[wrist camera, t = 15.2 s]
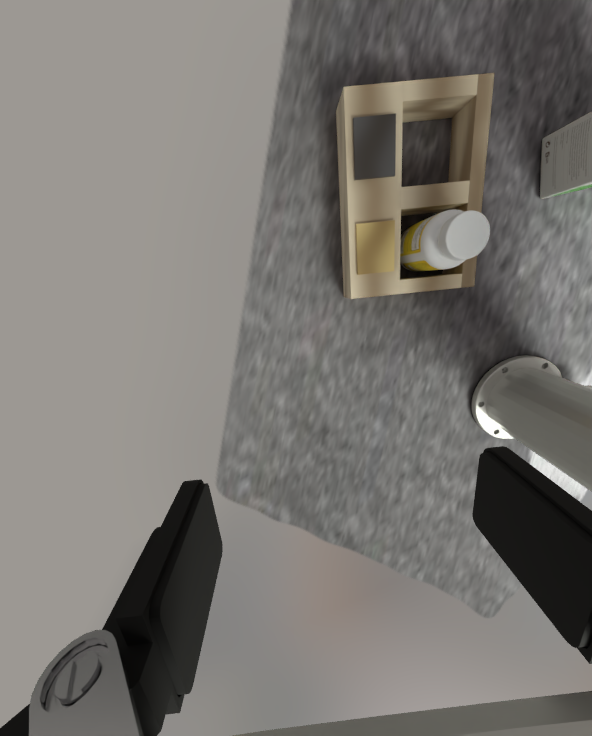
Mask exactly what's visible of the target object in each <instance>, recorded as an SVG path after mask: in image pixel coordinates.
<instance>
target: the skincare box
mask: <svg viewBox="0 0 592 736" xmlns="http://www.w3.org/2000/svg"><path fill="white" fill-rule="evenodd" d="M591 187H592V111H591V112H590V113H588V114H586V115H584V116H582V117H581V118H579V119H577V120H575V121H573V122H572V123H570V124H568V125H566V126H564V127H563V128H561V129H559V130H557V131H555V132H553V133H552V134H550V135H548V136H546V137H544V138H543V140H542V154H541V180H540V198H541V199H544V198H548V197H553V196H557V195H561V194H566V193H570V192H574V191H578V190H582V189H586V188H591Z"/></svg>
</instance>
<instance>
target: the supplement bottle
mask: <svg viewBox="0 0 592 736" xmlns="http://www.w3.org/2000/svg"><path fill="white" fill-rule="evenodd" d="M489 236H490V226H489V222H488V220H487V218H486V217H485V216H484V215H483V214H482V213H480V212H478V211H473V210H469V211H465V212H464V211H461V210H456V209H452V210H447V211H443V212H441V213H438V214H436V215H434V216H432V217H429V218H427V219H425V220H423V221H420V222H418V223H416V224H414V225H412V226H410V227H409V228H407V229H406V230H405V231H404V232H403V233H402V235H401V243H400V264H401V265H402V266H403V267H404V268H406V269H407V270H410V271H429V270H443V269H450V268H453V267H456V266H458V265H460V264H461V263H463V262H464V261H465V260H466V259H470V258H473V257H475V256H476V255H478V254H479V253H480V252H481V251H482V250H483V249H484V248H485V246H486V244H487V242H488V240H489Z"/></svg>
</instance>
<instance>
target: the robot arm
mask: <svg viewBox="0 0 592 736" xmlns="http://www.w3.org/2000/svg"><path fill="white" fill-rule="evenodd" d="M472 414H473V417H474V419H475V421H476V423H477V424H478V425H479V426H480V428H481V429H483V430H484V431H485V432H487V433H488V434H490V435H492V436H494V437H498V438H501V439H516V440H517V441H519V442H520V443H522V444H523V445H525V446H526V447H528V448H529V449H530V450H532V451H533V452H535V453H536V454H538V455H539V456H541V457H542V458H543V459H545V460H546V461H548V462H549V463H551V464H552V465H554V466H555V467H557V468H558V469H559V470H561V471H562V472H564V473H565V474H567V475H568V476H570V477H571V478H573V479H574V480H575V481H577V482H578V483H580V484H581V485H583V486H584V487H586V488H587V489H588V490H590V491H591V492H592V386H584V385H581V384H578V383H575V382H572V381H569V380H567V379H564V378H563V377H562V375H561V373H560V371H559V370H558V368H557V367H556V366H555V365H554V364H552V363H551V362H550V361H548V360H545V359H543V358H539V357H536V356H529V355H523V356H516V357H512V358H509V359H506V360H504V361H502V362H500V363H499V364H497V365H496V366H494V367H493V368H491V369H490V370H489V371H488V372H487V373H486V374H485V375H484V376H483V378H482V379H481V380H480V382H479V383H478V385H477V387H476V389H475V391H474V394H473V398H472ZM473 520H474V522H475V524H476V526H477V528H478V529H479V530H480V531H481V533H482V534H483V535H484V537H485V538H486V539H487V540H488V542H489V543H490V544H491V545H492V547H493V548H494V549H495V551H496V552H497V553H498V554H499V556H500V557H501V558H502V560H503V561H504V562H505V563H506V565H507V566H508V567H509V568H510V570H511V571H512V572H513V574H514V575H515V576H516V577H517V579H518V580H519V581H520V583H521V584H522V585H523V586H524V588H525V589H526V590H527V591H528V593H529V594H530V595H531V597H532V598H533V599H534V600H535V602H536V603H537V604H538V606H539V607H540V608H541V609H542V611H543V612H544V613H545V614H546V616H547V617H548V618H549V620H550V621H551V622H552V623H553V625H554V626H555V627H556V628H557V630H558V631H559V632H560V634H561V635H562V636H563V638H564V639H565V640H566V641H567V642H568V643H569V644H570V645H571V646H573V647H575V648H578V650H579V651H580V652H581V654H582V655H583V656H584V657H585V659H586V660H587V661H588V662H589V664H592V511H591V510H590V509H588V508H587V507H586V506H584V505H583V504H582V503H580V502H579V501H578V500H576V499H575V498H574V497H572V496H571V495H570V494H568V493H567V492H566V491H564V490H563V489H562V488H561V487H559V486H558V485H557V484H555V483H554V482H553V481H551V480H550V479H549V478H547V477H546V476H545V475H543V474H542V473H541V472H539V471H538V470H537V469H535V468H534V467H533V466H531V465H530V464H529V463H527V462H526V461H525V460H523V459H522V458H521V457H519V456H518V455H517V454H515V453H514V452H513V451H511V450H510V449H509V448H507V447H503V446H502V447H493V448H487V449H485V450H484V452H483V453H482V454H481V455H480V458H479V466H478V474H477V482H476V490H475V499H474V507H473ZM221 557H222V540H221V536H220V532H219V527H218V523H217V519H216V514H215V510H214V506H213V501H212V497H211V493H210V489H209V485H208V484H204V483H203V481H202V480H193V481H185V482H183V483H182V485H181V487H180V489H179V491H178V493H177V495H176V497H175V499H174V501H173V504H172V505H171V507H170V509H169V511H168V513H167V515H166V517H165V519H164V521H163V523H162V525H161V527H158V528H156V529H155V530H154V531H153V533H152V534H151V536H150V538H149V540H148V542H147V544H146V546H145V548H144V550H143V552H142V554H141V556H140V557H139V559H138V561H137V563H136V565H135V567H134V569H133V571H132V573H131V575H130V577H129V579H128V581H127V583H126V585H125V587H124V588H123V590H122V593H121V594H120V596H119V598H118V600H117V602H116V604H115V606H114V608H113V610H112V612H111V614H110V616H109V618H108V619H107V621H106V623H105V625H104V627H103V629H102V630H95V631H92V632H89V633H86V634H84V635H82V636H81V637H79V638H77V639H76V640H74V641H72V642H71V643H70V644H69V645H67V646H66V647H65V648H64V649H63V650H61V651H60V652H59V654H58V655H57V656H56V657H55V658H54V659H53V660H52V661H51V662H50V663H49V665H48V666H47V667H46V669H45V670H44V672H43V674H42V675H41V677H40V678H39V680H38V682H37V684H36V686H35V688H34V691H33V693H32V696H31V701H30V704H29V705H28V706H26V707H25V708H24V709H23V710H22V711H20V712H19V713H18V714H17V715H16V716H15V717H13V718H12V719H11V720H10V721H8V722H7V723H6V724H5V725H4V726H2V728H0V736H157V735H158V734H159V732H160V731H161V729H162V725H163V722H164V718H165V714H173V713H180V711H181V706H182V702H183V698H184V694H189V693H190V692H191V689H192V686H193V682H194V678H195V674H196V669H197V665H198V660H199V656H200V651H201V647H202V642H203V638H204V633H205V629H206V624H207V620H208V615H209V611H210V606H211V602H212V597H213V593H214V588H215V584H216V579H217V574H218V570H219V566H220V561H221ZM234 736H592V691H588V692H579V693H571V694H562V695H553V696H545V697H536V698H527V699H518V700H509V701H501V702H493V703H484V704H476V705H468V706H459V707H451V708H443V709H434V710H426V711H417V712H410V713H401V714H393V715H385V716H377V717H369V718H361V719H353V720H346V721H337V722H330V723H321V724H314V725H306V726H299V727H290V728H282V729H274V730H267V731H260V732H253V733H247V734H240V735H234Z"/></svg>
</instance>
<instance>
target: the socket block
mask: <svg viewBox="0 0 592 736" xmlns="http://www.w3.org/2000/svg"><path fill="white" fill-rule="evenodd" d="M493 82H494V73H486V74H476V75H465V76H454V77H443V78H433V79H422V80H411V81H400V82H390V83H379V84H368V85H358V86H347V87H343V91H342V94H341V97H340V100H339V103H338V107H337V110H336V126H337V149H338V172H339V196H340V219H341V242H342V266H343V289H344V297H346V298H350V299H355V298H365V297H375V296H385V295H394V294H404V293H414V292H424V291H434V290H443V289H453V288H463V287H473V286H474V283H475V273H476V262H477V255H476V256H475V257H473V258H470V259H466V260H465V261H464V262H463V263H461V264H460V265H458V266H456V267H453V268H450V269H443V274H441V275H431V276H421V277H411V278H402V279H400V243H401V216H407V215H417V214H427V213H438V212H443V211H447V210H452V209H456V210H461V211H464V212H465V211H469V210H473V211H478V212H480V213H481V209H482V199H483V188H484V177H485V167H486V156H487V146H488V135H489V125H490V114H491V103H492V93H493ZM446 118H452V130H451V146H450V163H449V179H448V183H439V184H429V185H419V186H408V187H401V182H402V123H404V122H414V121H425V120H436V119H446Z"/></svg>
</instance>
